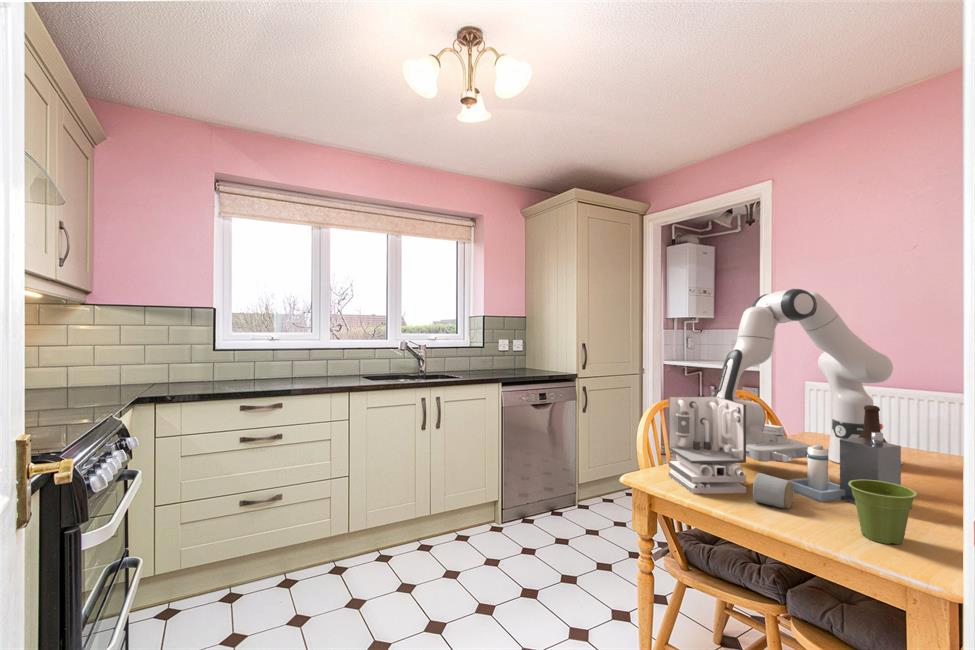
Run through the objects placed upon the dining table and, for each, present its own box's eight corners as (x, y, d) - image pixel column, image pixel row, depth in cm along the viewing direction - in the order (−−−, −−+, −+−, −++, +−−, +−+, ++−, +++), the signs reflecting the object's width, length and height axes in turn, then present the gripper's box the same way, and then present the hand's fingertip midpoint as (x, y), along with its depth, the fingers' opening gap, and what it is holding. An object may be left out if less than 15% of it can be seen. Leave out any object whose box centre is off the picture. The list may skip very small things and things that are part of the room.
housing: (860, 492, 137) (860, 425, 137) (911, 508, 124) (911, 435, 124) (830, 495, 134) (830, 427, 134) (879, 513, 121) (879, 438, 121)
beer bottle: (857, 482, 146) (857, 402, 146) (890, 488, 140) (890, 406, 140) (852, 488, 140) (852, 405, 140) (887, 495, 135) (887, 409, 135)
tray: (815, 485, 143) (815, 477, 143) (852, 498, 132) (852, 489, 132) (785, 488, 140) (785, 480, 140) (821, 502, 129) (821, 492, 129)
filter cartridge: (816, 487, 139) (816, 443, 139) (832, 493, 134) (832, 447, 134) (803, 489, 137) (803, 444, 138) (819, 495, 133) (819, 448, 133)
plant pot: (844, 523, 115) (844, 476, 115) (909, 534, 109) (909, 484, 109) (852, 542, 105) (852, 490, 105) (923, 555, 99) (923, 500, 99)
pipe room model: (717, 475, 152) (717, 396, 152) (753, 497, 133) (753, 406, 133) (668, 476, 151) (668, 396, 152) (697, 498, 132) (697, 407, 132)
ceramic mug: (787, 513, 122) (787, 482, 122) (751, 504, 127) (752, 475, 127) (797, 503, 129) (797, 474, 129) (763, 495, 135) (763, 467, 135)
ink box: (784, 459, 171) (784, 426, 171) (779, 462, 167) (779, 427, 167) (758, 454, 177) (758, 422, 177) (753, 457, 174) (753, 424, 174)
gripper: (736, 438, 151) (773, 449, 138) (787, 434, 157) (827, 444, 144) (736, 458, 151) (773, 471, 138) (787, 454, 157) (828, 466, 144)
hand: (801, 457), depth 141 cm, fingers open, 8 cm apart
